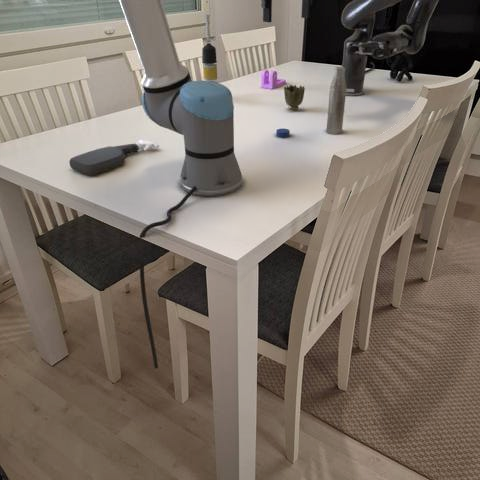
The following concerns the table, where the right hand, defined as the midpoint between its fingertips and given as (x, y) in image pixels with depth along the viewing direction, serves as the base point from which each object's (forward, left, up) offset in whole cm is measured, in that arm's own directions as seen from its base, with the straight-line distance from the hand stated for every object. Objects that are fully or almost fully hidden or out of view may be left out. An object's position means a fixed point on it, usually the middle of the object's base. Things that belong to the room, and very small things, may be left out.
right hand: (360, 52), depth 137 cm
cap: (+17, -20, -21) cm, 34 cm away
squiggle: (-69, +14, -22) cm, 74 cm away
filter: (-19, -57, -22) cm, 64 cm away
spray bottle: (+49, -59, -22) cm, 80 cm away
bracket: (-47, -38, -22) cm, 64 cm away
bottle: (+9, -5, -22) cm, 25 cm away
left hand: (+17, -20, +10) cm, 28 cm away
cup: (-11, -22, -22) cm, 33 cm away
